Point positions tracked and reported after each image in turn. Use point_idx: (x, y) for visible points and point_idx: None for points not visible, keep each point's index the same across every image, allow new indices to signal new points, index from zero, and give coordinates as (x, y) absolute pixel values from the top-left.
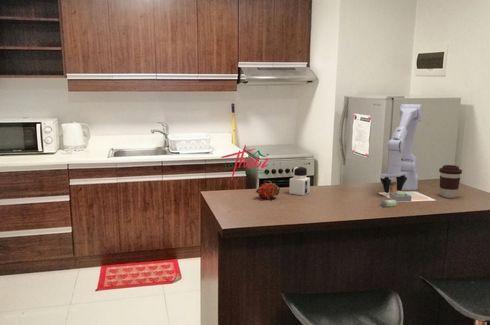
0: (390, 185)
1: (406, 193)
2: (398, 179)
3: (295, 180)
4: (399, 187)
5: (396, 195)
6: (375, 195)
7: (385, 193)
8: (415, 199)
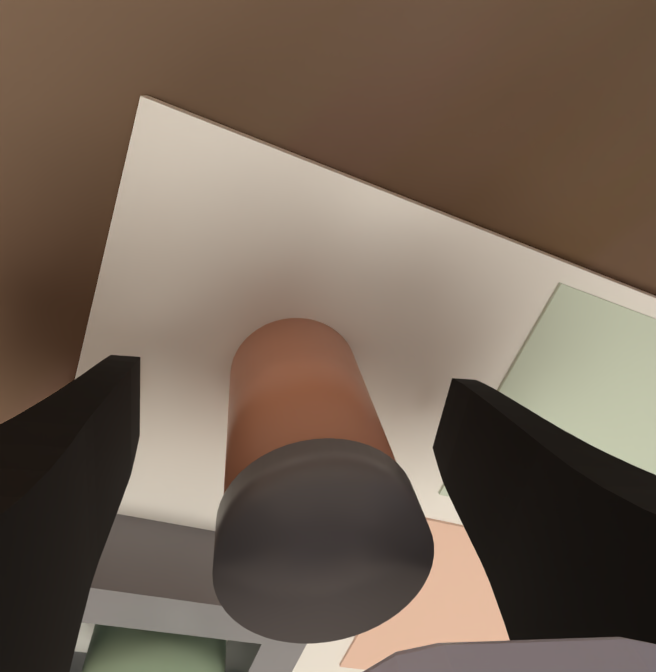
0: (221, 505)
1: (561, 418)
2: (601, 595)
3: None
4: (473, 479)
5: None
6: (9, 147)
7: (243, 242)
8: (349, 666)
